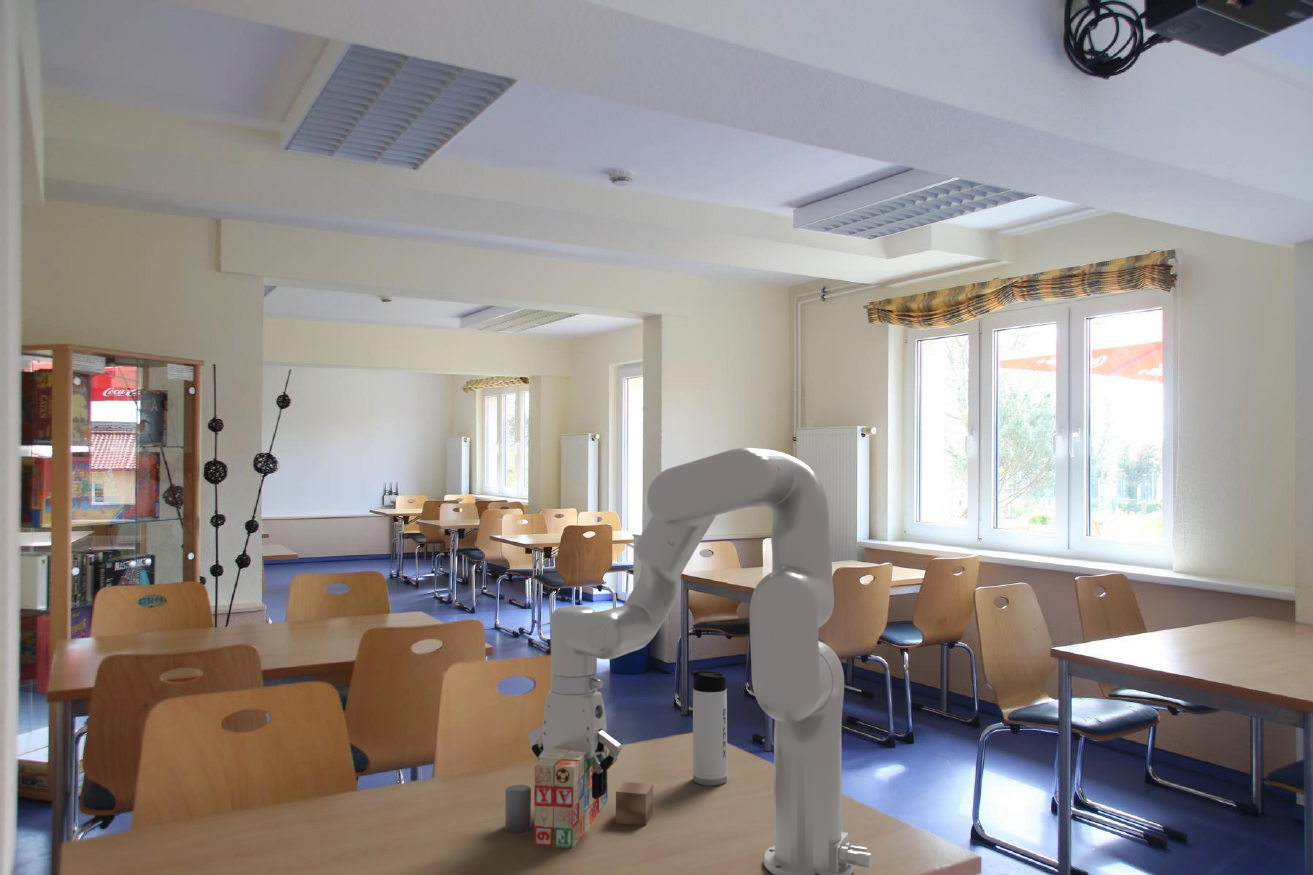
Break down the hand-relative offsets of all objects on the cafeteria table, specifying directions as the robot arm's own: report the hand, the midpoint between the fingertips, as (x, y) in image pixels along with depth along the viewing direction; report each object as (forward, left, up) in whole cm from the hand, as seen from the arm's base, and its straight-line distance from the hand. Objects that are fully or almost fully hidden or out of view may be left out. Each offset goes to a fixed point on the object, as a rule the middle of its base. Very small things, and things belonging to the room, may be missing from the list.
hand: (573, 791), depth 144 cm
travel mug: (-11, -29, -5) cm, 31 cm away
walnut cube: (-8, -6, -5) cm, 11 cm away
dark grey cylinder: (+6, +6, -5) cm, 10 cm away
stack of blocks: (0, 0, -5) cm, 5 cm away
